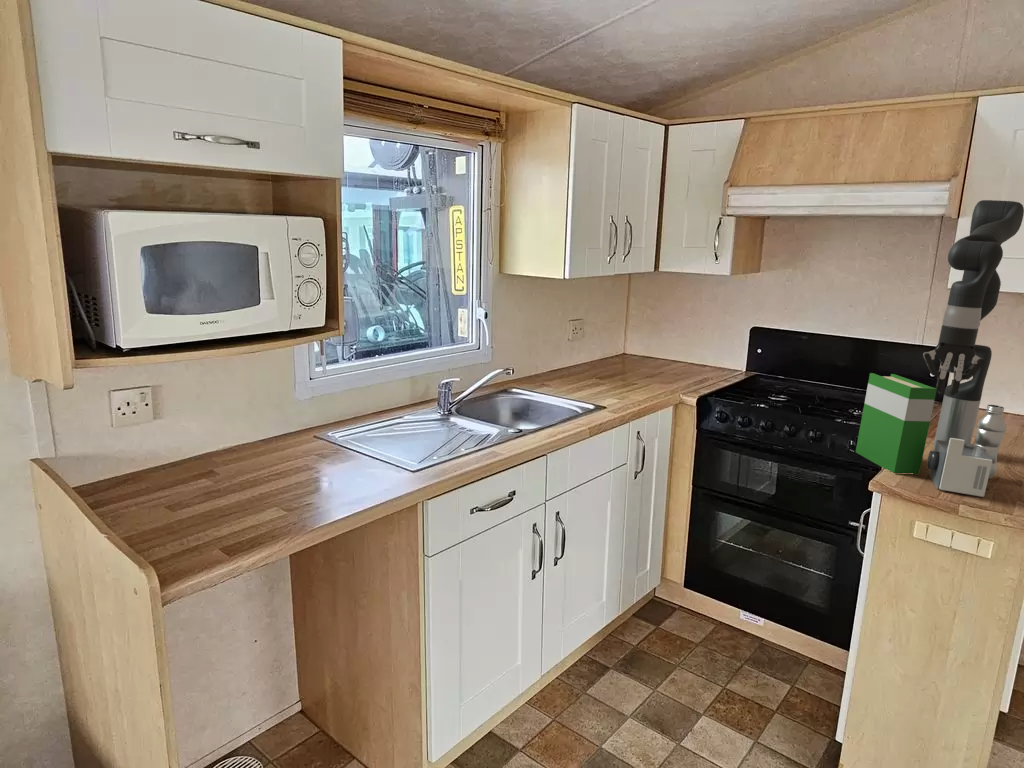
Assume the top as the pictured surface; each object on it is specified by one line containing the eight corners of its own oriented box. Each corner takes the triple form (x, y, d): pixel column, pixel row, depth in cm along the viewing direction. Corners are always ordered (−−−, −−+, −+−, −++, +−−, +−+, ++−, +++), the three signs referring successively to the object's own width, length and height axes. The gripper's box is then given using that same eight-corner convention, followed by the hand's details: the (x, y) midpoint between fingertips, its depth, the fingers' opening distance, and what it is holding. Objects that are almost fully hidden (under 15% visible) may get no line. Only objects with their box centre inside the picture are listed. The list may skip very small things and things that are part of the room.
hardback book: (855, 452, 203) (870, 373, 197) (878, 452, 203) (893, 374, 198) (893, 473, 186) (910, 387, 180) (919, 474, 186) (936, 388, 181)
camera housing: (922, 473, 187) (930, 435, 185) (971, 481, 183) (980, 443, 180) (930, 488, 176) (939, 448, 174) (983, 497, 172) (992, 456, 170)
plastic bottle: (966, 470, 192) (981, 401, 187) (995, 477, 188) (1012, 406, 183) (963, 476, 187) (979, 405, 182) (993, 483, 183) (1010, 411, 178)
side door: (939, 488, 175) (950, 437, 172) (982, 495, 172) (994, 444, 169) (939, 489, 174) (950, 438, 171) (984, 497, 171) (996, 445, 168)
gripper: (989, 326, 167) (974, 395, 171) (925, 320, 172) (912, 387, 176) (998, 330, 160) (981, 401, 164) (930, 323, 165) (916, 393, 169)
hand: (945, 393), depth 170 cm, fingers closed
